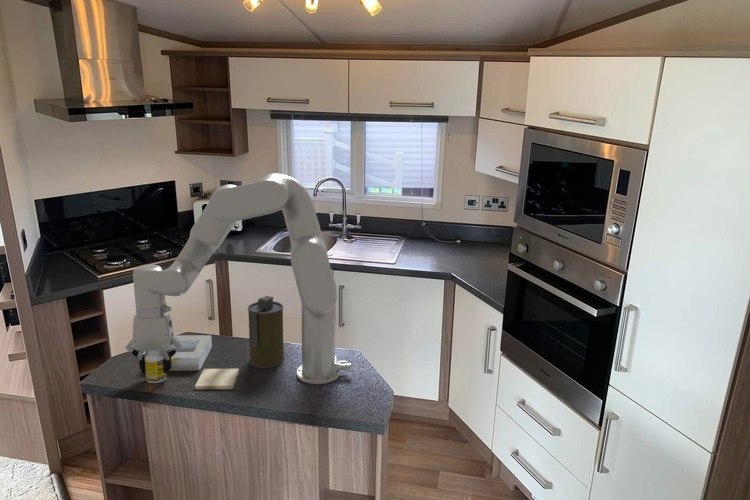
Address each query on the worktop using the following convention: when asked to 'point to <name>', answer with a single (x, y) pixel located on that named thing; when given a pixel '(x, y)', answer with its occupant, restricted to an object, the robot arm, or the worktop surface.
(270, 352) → the canister
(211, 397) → the worktop surface
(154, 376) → the supplement bottle
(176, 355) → the socket block
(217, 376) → the oak board
